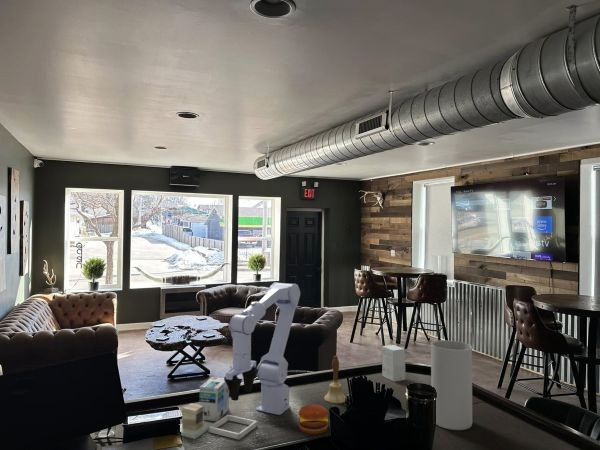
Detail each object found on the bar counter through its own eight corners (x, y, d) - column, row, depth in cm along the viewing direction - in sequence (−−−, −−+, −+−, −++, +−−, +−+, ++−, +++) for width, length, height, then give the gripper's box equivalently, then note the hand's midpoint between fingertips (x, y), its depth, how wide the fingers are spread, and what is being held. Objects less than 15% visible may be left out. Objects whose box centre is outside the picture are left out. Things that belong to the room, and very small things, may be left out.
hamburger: (330, 433, 130) (330, 412, 130) (299, 435, 129) (299, 413, 129) (326, 420, 139) (326, 399, 139) (296, 421, 138) (296, 401, 138)
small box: (405, 380, 178) (405, 348, 179) (393, 382, 176) (393, 350, 176) (393, 374, 186) (393, 344, 186) (381, 376, 183) (381, 345, 183)
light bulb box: (217, 422, 137) (218, 388, 138) (198, 420, 139) (198, 386, 139) (229, 408, 148) (229, 377, 148) (211, 407, 149) (211, 376, 149)
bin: (257, 425, 134) (257, 421, 134) (239, 439, 125) (239, 434, 125) (227, 419, 139) (227, 414, 139) (208, 432, 130) (208, 427, 130)
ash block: (195, 430, 129) (195, 410, 129) (182, 427, 131) (182, 407, 131) (203, 425, 132) (203, 406, 132) (190, 422, 134) (191, 403, 135)
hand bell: (351, 400, 156) (351, 356, 156) (333, 405, 151) (333, 360, 152) (336, 393, 163) (337, 351, 163) (319, 398, 158) (319, 354, 158)
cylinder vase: (473, 434, 129) (472, 351, 130) (430, 427, 134) (430, 347, 134) (471, 417, 141) (471, 342, 142) (432, 412, 146) (432, 339, 146)
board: (213, 426, 134) (213, 423, 134) (194, 438, 126) (194, 435, 126) (190, 421, 138) (190, 418, 138) (171, 432, 129) (171, 429, 129)
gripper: (243, 346, 143) (243, 386, 143) (217, 356, 130) (217, 401, 130) (261, 348, 140) (261, 389, 140) (237, 359, 127) (236, 405, 127)
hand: (241, 395), depth 135 cm, fingers open, 7 cm apart
